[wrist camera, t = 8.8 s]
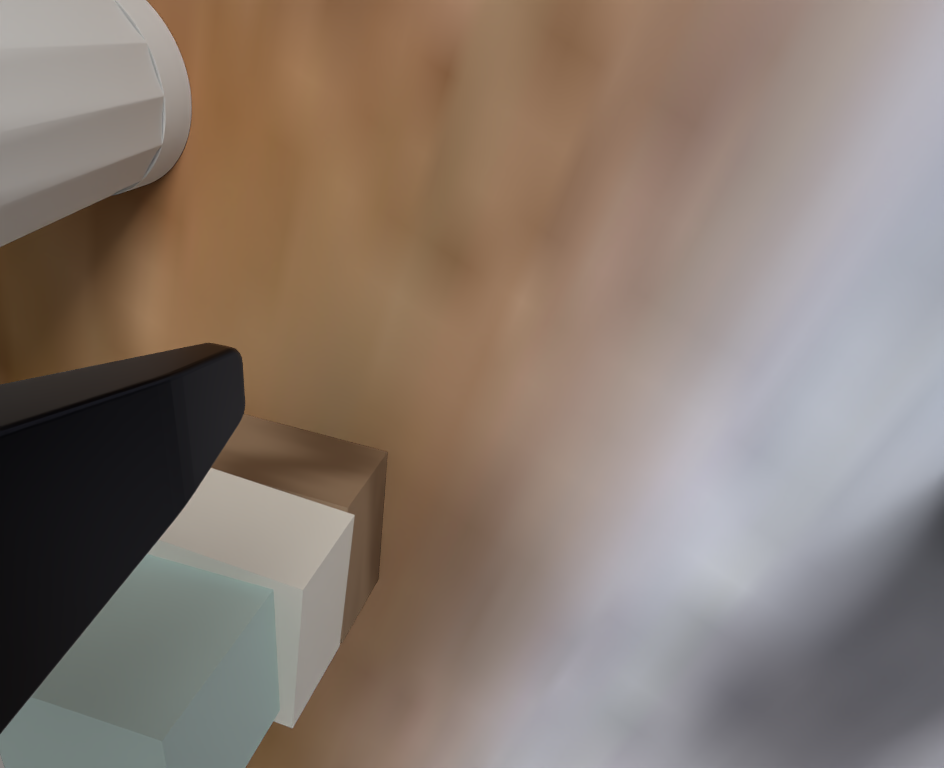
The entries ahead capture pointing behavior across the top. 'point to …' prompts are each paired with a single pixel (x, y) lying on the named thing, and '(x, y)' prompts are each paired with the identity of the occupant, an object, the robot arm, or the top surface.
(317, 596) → the cream slab
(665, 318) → the top surface
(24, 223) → the cup
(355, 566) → the walnut slab
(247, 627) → the painted cube
